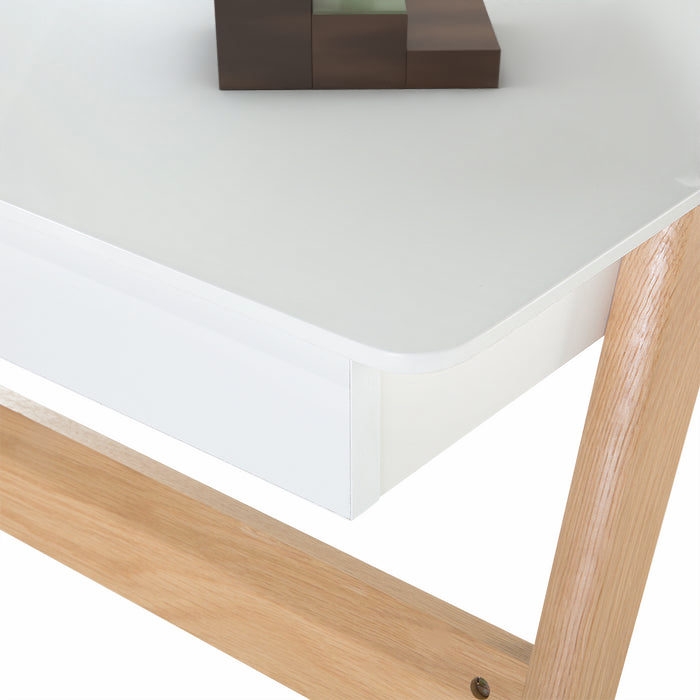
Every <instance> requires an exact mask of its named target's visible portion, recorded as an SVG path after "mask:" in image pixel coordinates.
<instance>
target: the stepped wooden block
mask: <svg viewBox="0 0 700 700" xmlns="http://www.w3.org/2000/svg"><path fill="white" fill-rule="evenodd" d="M213 7H214V25H215V42H216V56H217V57H216V58H217V59H216V61H217V75H218V90H220V91H221V90H222V91H223V90H362V89H363V90H366V89H367V90H372V89H373V90H374V89H377V90H379V89H381V90H382V89H383V90H386V89H495V88H497V89H498V88H499V83H500V82H499V81H500V70H501V69H500V68H501V56H502V49H501V46H500V43H499V40H498V38H497V35H496V32H495V29H494V27H493V24H492V21H491V19H490V15H489V12H488V10H487V8H486V7H487V6H486V4H485V2H484V0H213Z"/></svg>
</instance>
